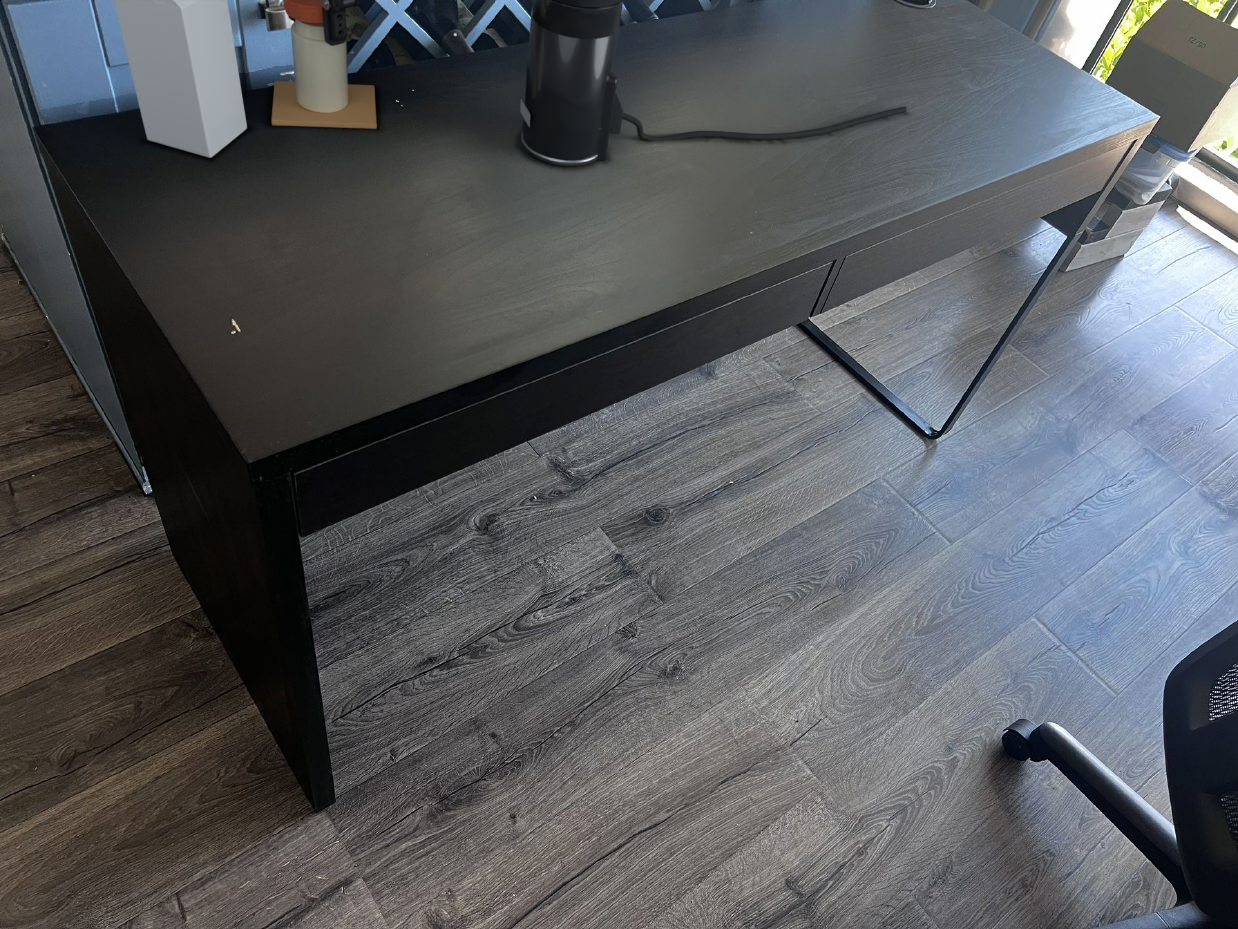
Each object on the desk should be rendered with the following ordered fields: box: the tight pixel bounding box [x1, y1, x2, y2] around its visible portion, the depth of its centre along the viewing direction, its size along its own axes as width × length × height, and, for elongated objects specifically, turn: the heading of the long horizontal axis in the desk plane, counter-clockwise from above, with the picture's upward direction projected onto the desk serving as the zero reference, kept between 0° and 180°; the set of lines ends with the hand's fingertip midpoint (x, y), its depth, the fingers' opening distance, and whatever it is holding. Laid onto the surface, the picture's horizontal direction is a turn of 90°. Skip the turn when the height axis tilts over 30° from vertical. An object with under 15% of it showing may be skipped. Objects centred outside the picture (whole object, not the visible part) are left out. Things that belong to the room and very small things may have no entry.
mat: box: [271, 80, 378, 130], centre depth 106 cm, size 11×9×1 cm
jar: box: [290, 19, 349, 113], centre depth 102 cm, size 6×6×9 cm
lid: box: [282, 0, 323, 23], centre depth 97 cm, size 6×6×2 cm
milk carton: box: [113, 0, 248, 158], centre depth 91 cm, size 7×7×19 cm
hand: (317, 30), depth 99 cm, fingers closed on lid, 5 cm apart
